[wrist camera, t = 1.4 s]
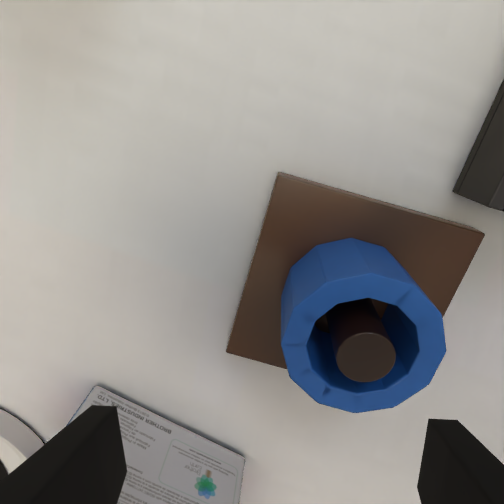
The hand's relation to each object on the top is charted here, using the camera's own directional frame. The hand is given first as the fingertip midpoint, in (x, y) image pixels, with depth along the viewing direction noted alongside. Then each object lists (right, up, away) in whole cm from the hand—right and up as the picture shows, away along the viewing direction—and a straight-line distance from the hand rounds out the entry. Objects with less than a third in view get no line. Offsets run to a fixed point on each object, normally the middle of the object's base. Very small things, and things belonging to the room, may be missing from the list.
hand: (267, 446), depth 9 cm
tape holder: (+4, +3, +9) cm, 11 cm away
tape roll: (+4, +2, +8) cm, 10 cm away
